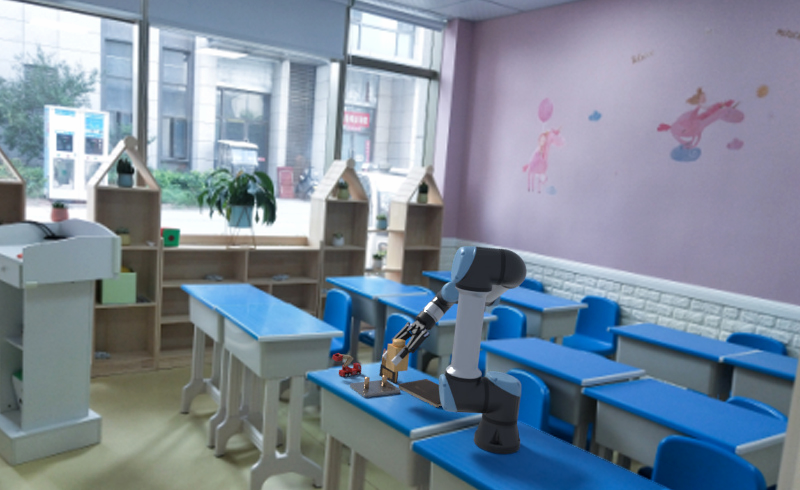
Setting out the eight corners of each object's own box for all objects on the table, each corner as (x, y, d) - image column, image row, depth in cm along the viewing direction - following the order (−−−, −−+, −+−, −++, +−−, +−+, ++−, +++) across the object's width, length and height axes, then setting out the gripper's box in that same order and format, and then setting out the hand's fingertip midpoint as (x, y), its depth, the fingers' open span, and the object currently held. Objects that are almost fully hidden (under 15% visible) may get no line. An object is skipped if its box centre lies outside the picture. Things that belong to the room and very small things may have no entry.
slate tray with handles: (399, 393, 240) (401, 379, 239) (364, 397, 232) (365, 383, 231) (384, 383, 250) (386, 370, 249) (349, 386, 242) (351, 373, 241)
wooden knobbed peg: (407, 370, 230) (410, 342, 229) (393, 371, 227) (396, 343, 226) (399, 365, 235) (401, 338, 234) (385, 367, 232) (388, 338, 231)
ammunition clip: (397, 383, 252) (400, 354, 251) (393, 383, 251) (396, 355, 249) (382, 374, 260) (385, 347, 259) (379, 375, 259) (381, 347, 258)
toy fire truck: (362, 374, 258) (364, 352, 257) (335, 378, 250) (337, 356, 248) (357, 372, 261) (359, 350, 260) (330, 376, 252) (332, 353, 251)
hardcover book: (435, 409, 228) (436, 403, 228) (397, 389, 246) (397, 383, 246) (465, 402, 238) (466, 397, 238) (426, 383, 256) (427, 378, 256)
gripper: (448, 329, 230) (407, 375, 223) (420, 317, 246) (381, 359, 239) (438, 315, 226) (396, 361, 219) (411, 304, 242) (371, 347, 235)
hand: (389, 360), depth 229 cm, fingers closed on wooden knobbed peg, 6 cm apart
